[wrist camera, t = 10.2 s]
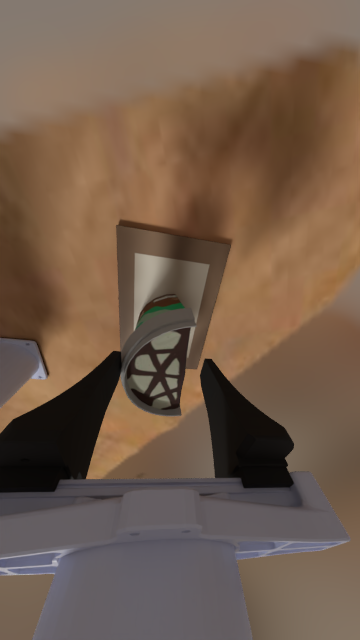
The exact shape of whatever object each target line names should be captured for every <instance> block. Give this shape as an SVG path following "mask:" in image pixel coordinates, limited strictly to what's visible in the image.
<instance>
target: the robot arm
mask: <svg viewBox="0 0 360 640" xmlns="http://www.w3.org/2000/svg"><path fill="white" fill-rule="evenodd" d="M120 374H121V352H119V351H113V352H112V353H111V354H110V355H109V356H108V357H107V358H106V359H105V360H104V361H103V362H102V363H101V364H99V365H98V366H97V367H96V368H95V369H94V370H93V371H92V372H90V373H89V374H88V375H87V376H86V377H84V378H83V379H82V380H80V381H79V382H78V383H76V384H75V385H74V386H72V387H71V388H69V389H68V390H66V391H65V392H63V393H62V394H60V395H58V396H57V397H55V398H54V399H52V400H50V401H48V402H47V403H45V404H43V405H41V406H39V407H37V408H35V409H33V410H31V411H29V412H27V413H25V414H23V415H21V416H19V417H17V418H15V419H13V420H12V421H11V422H10V423H9V424H8V425H7V427H6V428H5V429H4V430H3V431H2V432H1V434H0V575H27V574H55V575H54V578H53V582H52V584H51V587H50V590H49V593H48V595H47V598H46V601H45V604H44V607H43V610H42V613H41V616H40V618H39V622H38V624H37V627H36V630H35V633H34V636H33V639H32V640H253V638H252V633H251V628H250V623H249V618H248V613H247V608H246V603H245V598H244V594H243V589H242V584H241V579H240V574H239V569H238V564H237V560H239V559H246V558H255V557H263V556H271V555H280V554H288V553H298V552H308V551H321V550H324V549H327V548H330V547H333V546H336V545H339V544H342V543H345V542H348V541H350V537H349V535H348V533H347V532H346V530H345V528H344V527H343V525H342V523H341V522H340V520H339V519H338V517H337V515H336V513H335V512H334V510H333V508H332V507H331V505H330V503H329V502H328V500H327V498H326V497H325V495H324V493H323V492H322V490H321V488H320V487H319V485H318V483H317V481H316V480H315V478H314V477H313V475H312V473H311V472H309V471H295V472H290V473H289V472H288V470H287V468H286V467H287V466H288V464H287V462H286V460H285V457H286V456H287V455H288V454H289V453H290V452H291V451H292V450H293V448H294V443H293V441H292V439H291V438H290V436H289V434H288V433H287V431H286V429H285V428H284V427H283V426H281V425H280V424H278V423H277V422H275V421H274V420H272V419H271V418H269V417H268V416H267V415H265V414H264V413H263V412H261V411H260V410H259V409H257V408H256V407H255V406H254V405H253V404H251V403H250V402H249V401H248V400H247V399H246V398H245V397H244V396H243V395H241V394H240V393H239V392H238V391H237V390H236V389H235V387H234V386H233V385H232V384H231V383H230V382H229V381H228V380H227V378H226V377H225V376H224V375H223V373H222V372H221V371H220V370H219V368H218V367H217V366H216V364H215V363H214V362H213V360H212V359H205V360H204V363H203V367H202V370H201V374H200V379H201V387H202V391H203V396H204V400H205V404H206V408H207V412H208V418H209V424H210V431H211V440H212V448H213V458H214V469H215V478H183V479H182V478H181V479H179V478H178V479H86V476H87V472H88V469H89V465H90V461H91V458H92V454H93V451H94V447H95V444H96V441H97V437H98V434H99V431H100V427H101V424H102V421H103V418H104V415H105V412H106V409H107V407H108V405H109V402H110V400H111V398H112V395H113V393H114V390H115V388H116V386H117V383H118V381H119V377H120ZM47 377H48V375H47V372H46V369H45V366H44V363H43V360H42V358H41V355H40V352H39V349H38V346H37V343H36V342H35V341H31V340H20V339H8V338H0V408H1V407H2V406H3V405H4V404H5V403H6V402H7V401H8V400H9V399H10V398H11V397H12V396H13V395H14V394H15V393H16V392H17V391H18V390H19V389H20V388H21V387H22V386H23V385H24V384H25V383H26V382H27V381H28V380H29V379H47Z"/></svg>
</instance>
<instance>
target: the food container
mask: <svg viewBox="0 0 360 640" xmlns="http://www.w3.org/2000/svg"><path fill="white" fill-rule="evenodd" d="M191 327H197V325H196V323H195V318H194V315H193V312H192V309H191V308H185V307H184V306H183V304H182V303H181V302H180V300H179V299H178V297H177V296H176V295H175V294H166V295H163V296H160V297H157V298H155V299H153V300H152V301H150V302H149V303H148V304H146V305H145V307H144V308H143V310H142V311H141V312H140V315H139V318H138V321H137V325H136V329H135V331H134V332H133V333H132V334H131V335H130V337H129V338H128V339H127V341H126V342H125V344H124V346H123V349H122V351H121V374H120V375H121V381H122V385H123V387H124V390H125V392H126V394H127V396H128V398H129V399H130V400H131V402H132V403H133V404H134V405H136V406H137V407H138V408H140V409H142V410H144V411H146V412H148V413H151V414H155V415H160V416H181V409H180V396H181V390H182V385H183V381H184V376H185V368H186V358H187V350H188V343H189V337H190V330H191Z"/></svg>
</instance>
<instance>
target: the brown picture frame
mask: <svg viewBox="0 0 360 640" xmlns="http://www.w3.org/2000/svg"><path fill="white" fill-rule="evenodd" d="M116 231H117V260H118V289H119V318H120V347H121V351H122V349H123V346H124V344H125V342H126V341H127V339H128V338H129V337H130V335H131V334H132V333H133V332H134V331H135V329H136V325H137V321H138V318H139V315H140V312H141V311H142V310H143V308H144V307H145V305H146V304H148V303H149V302H150V301H152V300H153V299H155V298H157V297H160V296H163V295H166V294H175V295H176V296H177V297H178V299H179V300H180V302H181V303H182V304H183V306H184V307H185V308H191V309H192V312H193V315H194V318H195V323H196V325H197V327H191V330H190V337H189V343H188V350H187V358H186V368H185V369H197V367H198V364H199V360H200V356H201V353H202V349H203V345H204V342H205V338H206V335H207V331H208V327H209V324H210V320H211V316H212V313H213V309H214V305H215V302H216V298H217V294H218V291H219V287H220V284H221V280H222V276H223V273H224V269H225V265H226V262H227V258H228V254H229V251H230V247H231V245H229V244H223V243H217V242H211V241H205V240H200V239H194V238H188V237H182V236H177V235H171V234H165V233H159V232H154V231H148V230H142V229H136V228H131V227H125V226H119V225H116Z"/></svg>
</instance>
